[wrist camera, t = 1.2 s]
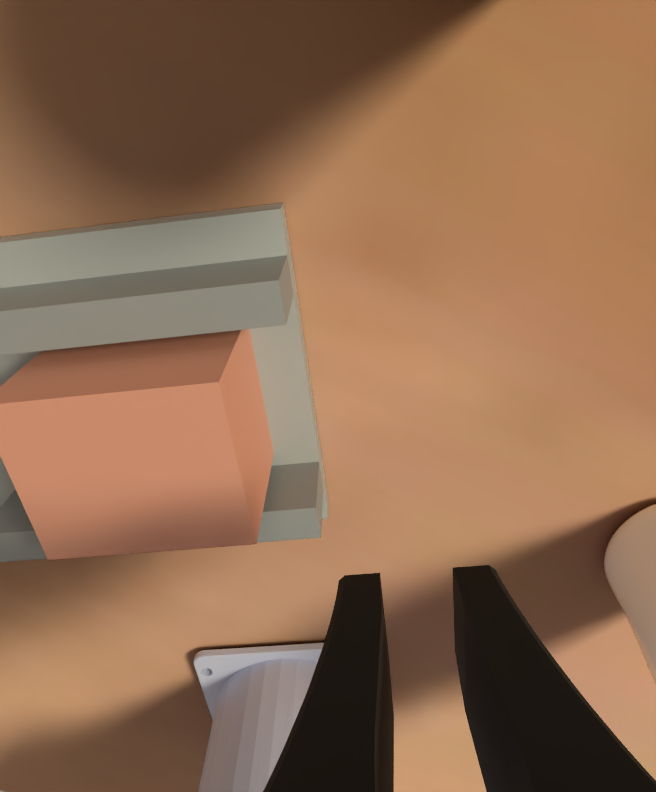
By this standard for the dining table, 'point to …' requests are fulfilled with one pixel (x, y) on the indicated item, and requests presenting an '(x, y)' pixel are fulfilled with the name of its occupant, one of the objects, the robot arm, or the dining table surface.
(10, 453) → the block
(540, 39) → the dining table surface
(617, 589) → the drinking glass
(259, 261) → the chute
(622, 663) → the dining table surface
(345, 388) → the dining table surface
